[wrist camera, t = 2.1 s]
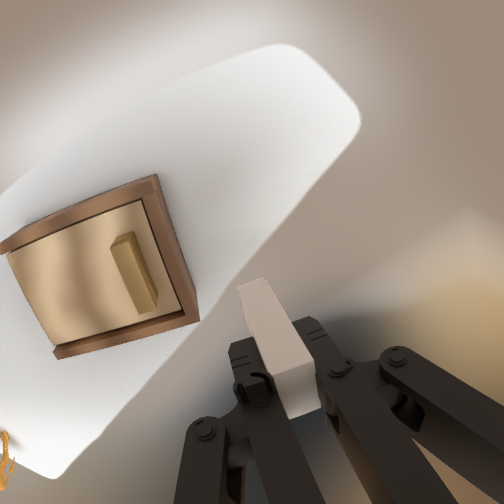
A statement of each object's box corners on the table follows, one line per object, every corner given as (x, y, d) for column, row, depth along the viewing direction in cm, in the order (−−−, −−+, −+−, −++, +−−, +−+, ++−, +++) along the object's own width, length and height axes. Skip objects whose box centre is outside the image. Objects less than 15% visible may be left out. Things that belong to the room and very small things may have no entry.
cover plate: (141, 198, 24) (135, 207, 20) (181, 304, 28) (182, 326, 24) (9, 252, 22) (-9, 266, 19) (55, 341, 26) (45, 362, 23)
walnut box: (156, 173, 27) (150, 180, 22) (196, 291, 32) (200, 321, 27) (22, 227, 25) (-4, 245, 20) (71, 329, 30) (57, 359, 25)
